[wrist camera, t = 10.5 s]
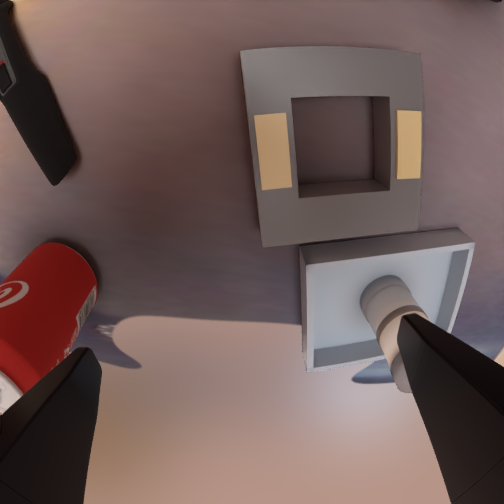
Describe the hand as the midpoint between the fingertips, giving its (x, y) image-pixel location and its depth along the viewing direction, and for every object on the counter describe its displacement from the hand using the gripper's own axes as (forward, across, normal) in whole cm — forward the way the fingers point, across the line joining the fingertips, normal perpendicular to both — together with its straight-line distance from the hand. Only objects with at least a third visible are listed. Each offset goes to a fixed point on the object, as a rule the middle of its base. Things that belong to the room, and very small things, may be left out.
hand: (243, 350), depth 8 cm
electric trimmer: (+14, +13, -11) cm, 22 cm away
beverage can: (+13, +14, +4) cm, 20 cm away
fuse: (+12, -10, +9) cm, 18 cm away
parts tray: (+13, -10, +9) cm, 19 cm away
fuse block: (+13, -6, -3) cm, 15 cm away
